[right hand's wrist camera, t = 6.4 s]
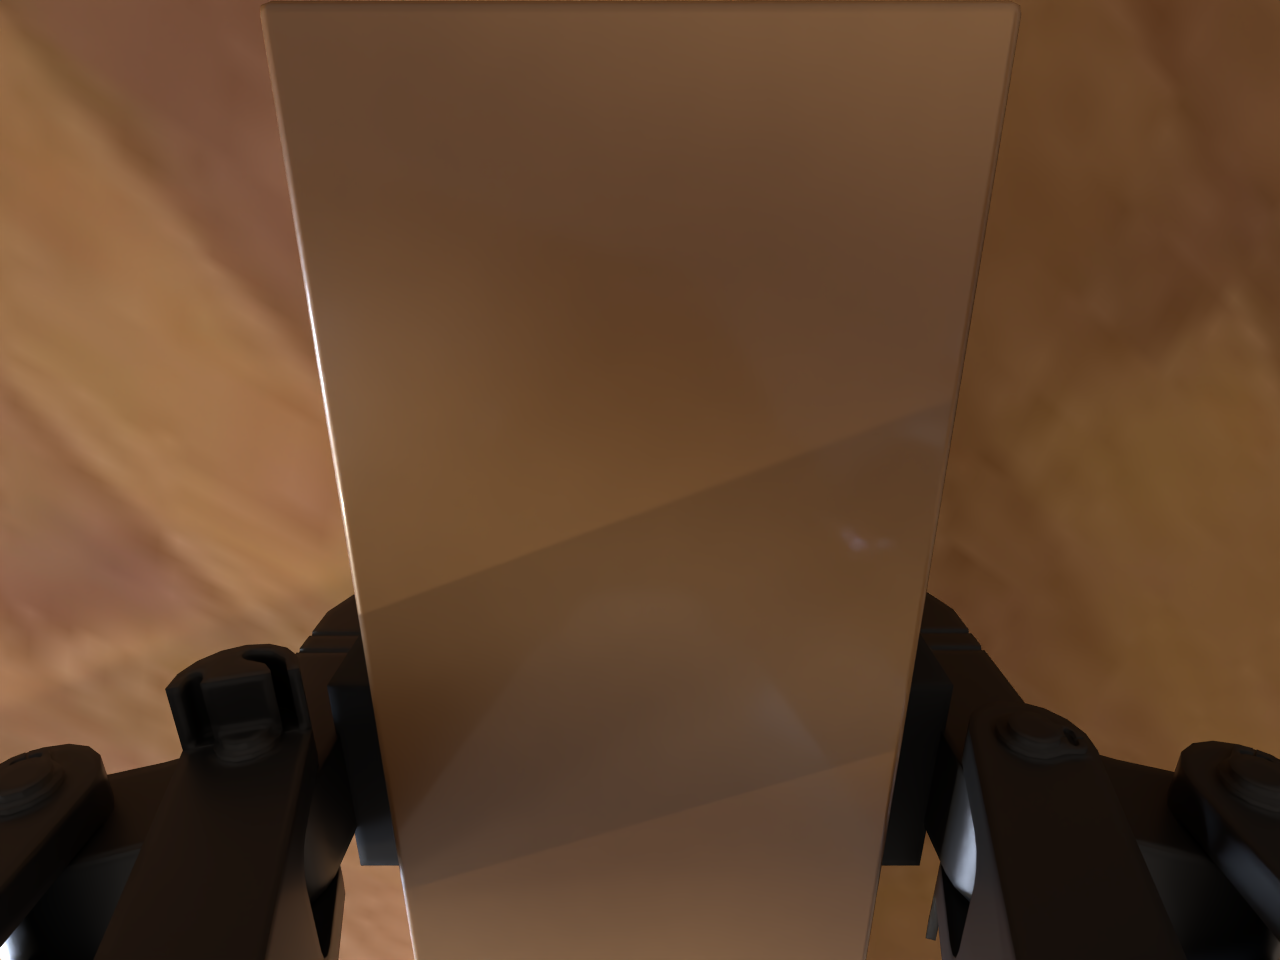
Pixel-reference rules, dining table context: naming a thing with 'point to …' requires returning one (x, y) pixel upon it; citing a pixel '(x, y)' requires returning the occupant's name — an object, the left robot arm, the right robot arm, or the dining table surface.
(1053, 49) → the dining table surface
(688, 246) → the post
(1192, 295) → the dining table surface
